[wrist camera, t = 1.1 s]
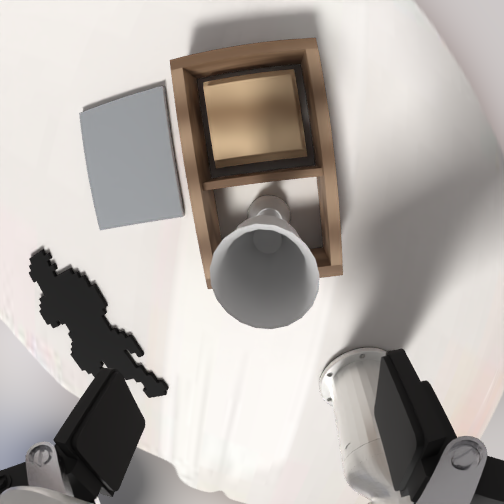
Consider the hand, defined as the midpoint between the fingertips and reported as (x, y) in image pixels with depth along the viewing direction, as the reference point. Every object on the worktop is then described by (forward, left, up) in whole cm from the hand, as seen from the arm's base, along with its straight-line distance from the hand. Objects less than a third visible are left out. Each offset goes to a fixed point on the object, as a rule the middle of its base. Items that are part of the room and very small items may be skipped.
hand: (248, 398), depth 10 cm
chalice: (0, 0, -28) cm, 28 cm away
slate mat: (+9, +16, -28) cm, 34 cm away
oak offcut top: (+11, 0, -26) cm, 29 cm away
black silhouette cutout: (-15, +31, -29) cm, 45 cm away
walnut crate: (+6, 0, -28) cm, 29 cm away
